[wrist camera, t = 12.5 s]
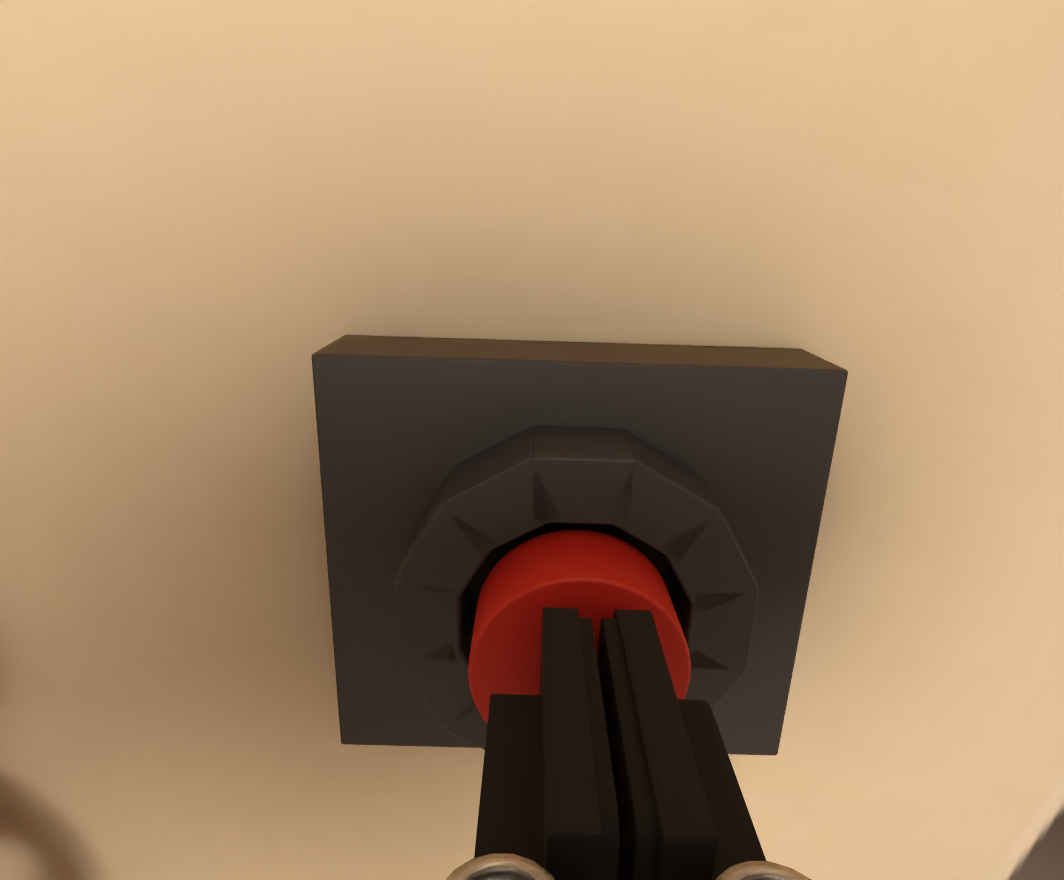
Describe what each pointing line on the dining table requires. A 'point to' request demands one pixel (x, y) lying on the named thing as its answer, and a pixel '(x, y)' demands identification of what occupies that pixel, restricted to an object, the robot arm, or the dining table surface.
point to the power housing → (566, 507)
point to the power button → (566, 582)
